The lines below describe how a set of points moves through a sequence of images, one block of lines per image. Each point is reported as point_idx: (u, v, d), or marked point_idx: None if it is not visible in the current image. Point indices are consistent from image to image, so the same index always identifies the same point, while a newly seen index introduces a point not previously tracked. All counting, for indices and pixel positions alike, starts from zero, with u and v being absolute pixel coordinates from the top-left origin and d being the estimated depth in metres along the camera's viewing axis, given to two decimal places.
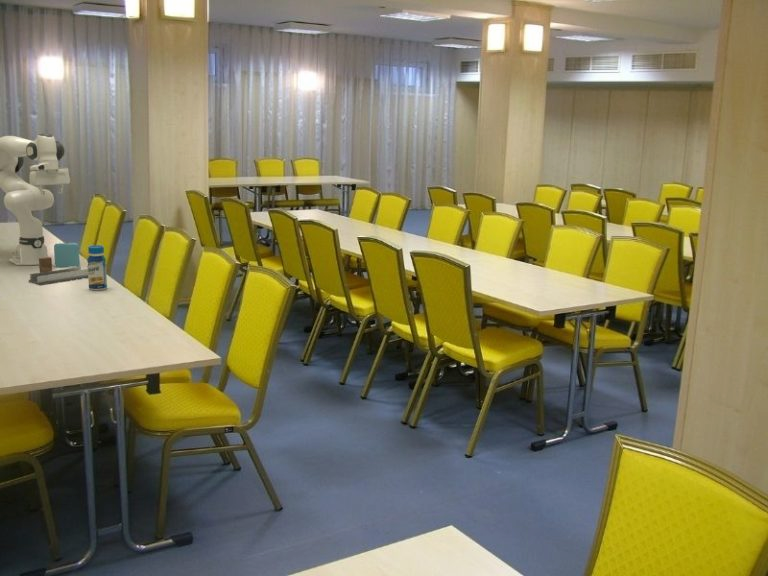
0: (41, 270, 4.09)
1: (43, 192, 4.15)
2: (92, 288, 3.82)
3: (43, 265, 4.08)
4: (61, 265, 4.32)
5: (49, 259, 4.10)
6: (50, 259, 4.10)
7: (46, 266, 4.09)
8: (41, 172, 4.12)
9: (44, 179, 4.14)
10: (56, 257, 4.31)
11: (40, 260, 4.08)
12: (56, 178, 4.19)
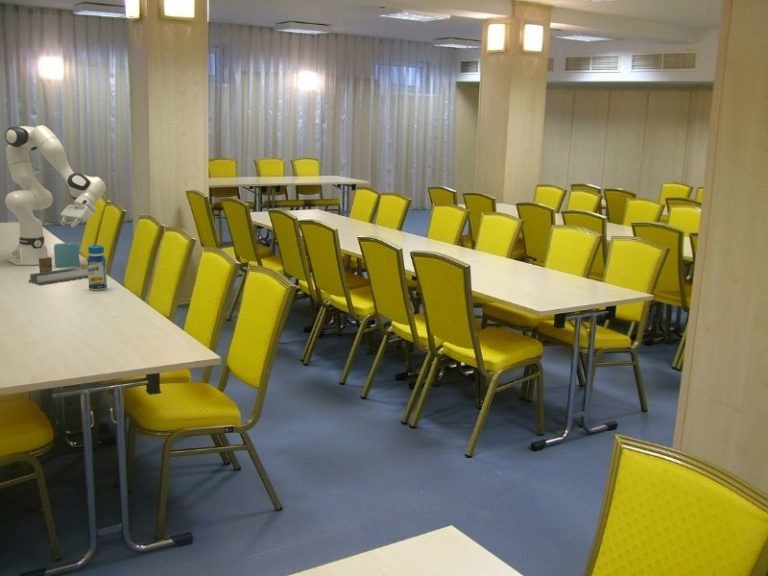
0: (41, 270, 4.09)
1: None
2: (92, 288, 3.82)
3: (43, 265, 4.08)
4: (61, 265, 4.32)
5: (49, 259, 4.10)
6: (50, 259, 4.10)
7: (46, 266, 4.09)
8: None
9: None
10: (56, 257, 4.31)
11: (40, 260, 4.08)
12: None
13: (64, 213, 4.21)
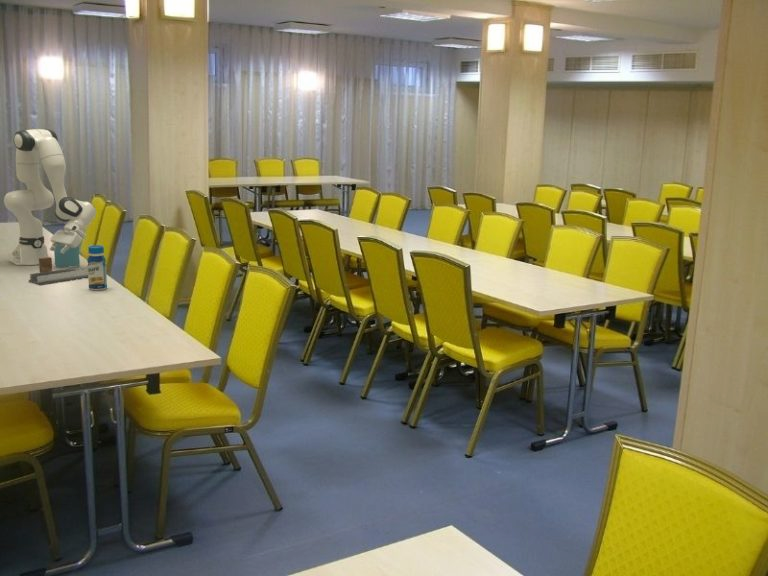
0: (41, 270, 4.09)
1: None
2: (92, 288, 3.82)
3: (43, 265, 4.08)
4: (61, 265, 4.32)
5: (49, 259, 4.10)
6: (50, 259, 4.10)
7: (46, 266, 4.09)
8: None
9: None
10: (56, 257, 4.31)
11: (40, 260, 4.08)
12: None
13: (54, 238, 4.18)
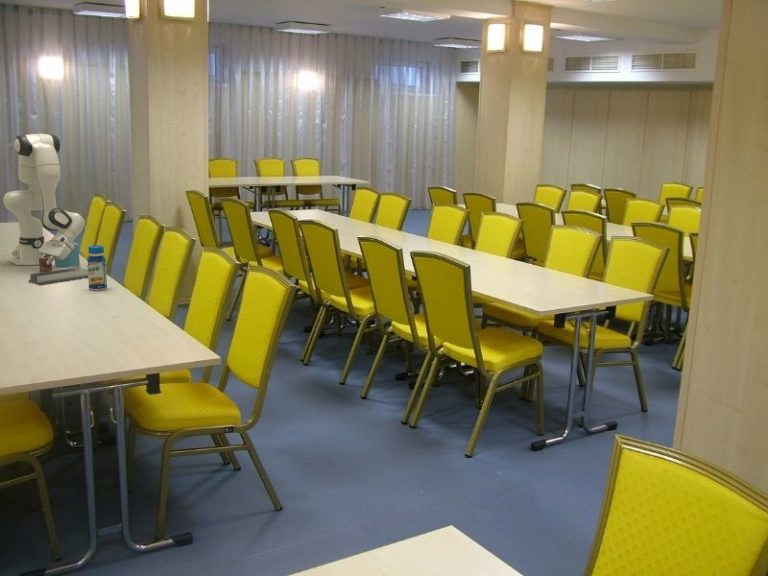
0: (41, 270, 4.09)
1: None
2: (92, 288, 3.82)
3: (43, 265, 4.08)
4: (61, 265, 4.32)
5: None
6: None
7: (46, 266, 4.09)
8: None
9: None
10: None
11: (40, 260, 4.08)
12: None
13: (42, 250, 4.15)
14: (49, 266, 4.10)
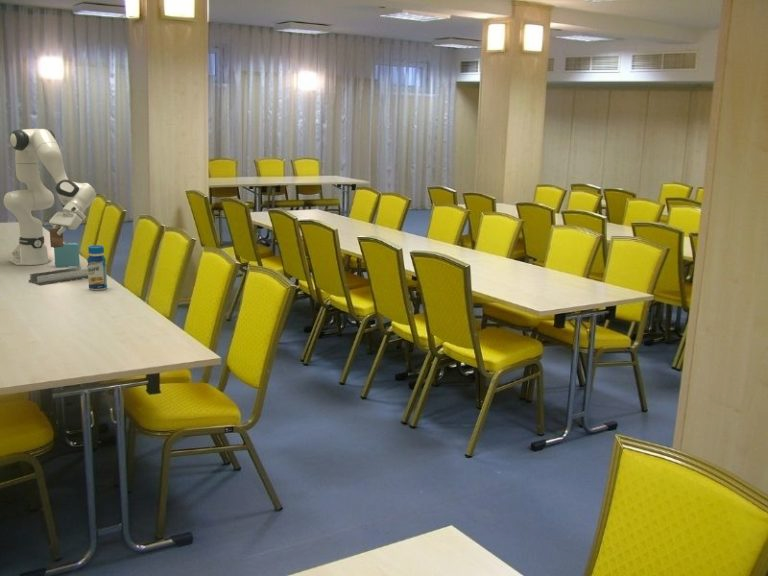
0: (52, 241, 3.98)
1: None
2: (92, 288, 3.82)
3: (54, 235, 3.97)
4: (61, 265, 4.32)
5: None
6: None
7: (57, 236, 3.98)
8: None
9: None
10: (56, 257, 4.31)
11: (51, 230, 3.97)
12: None
13: (52, 220, 4.04)
14: (60, 237, 3.99)
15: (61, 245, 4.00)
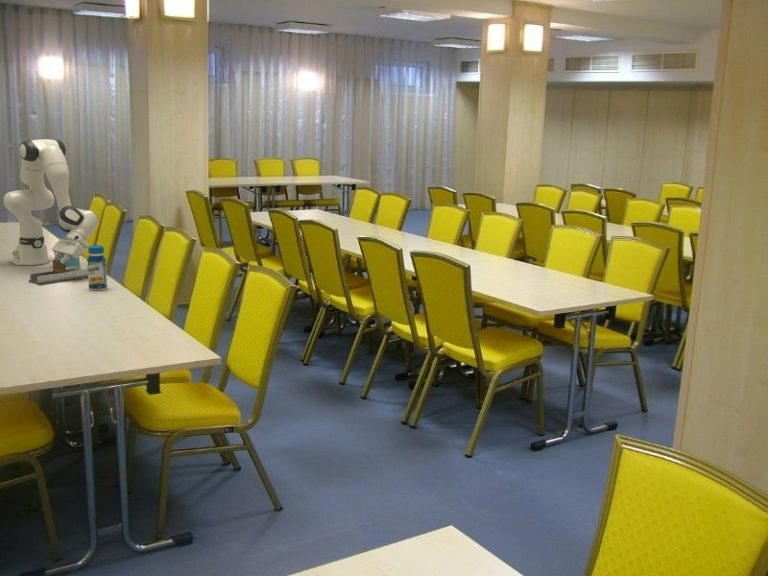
0: (55, 272, 4.00)
1: None
2: (92, 288, 3.82)
3: (56, 267, 4.00)
4: None
5: None
6: None
7: (60, 267, 4.01)
8: None
9: None
10: None
11: (54, 262, 4.00)
12: None
13: (55, 248, 4.06)
14: (63, 268, 4.02)
15: None
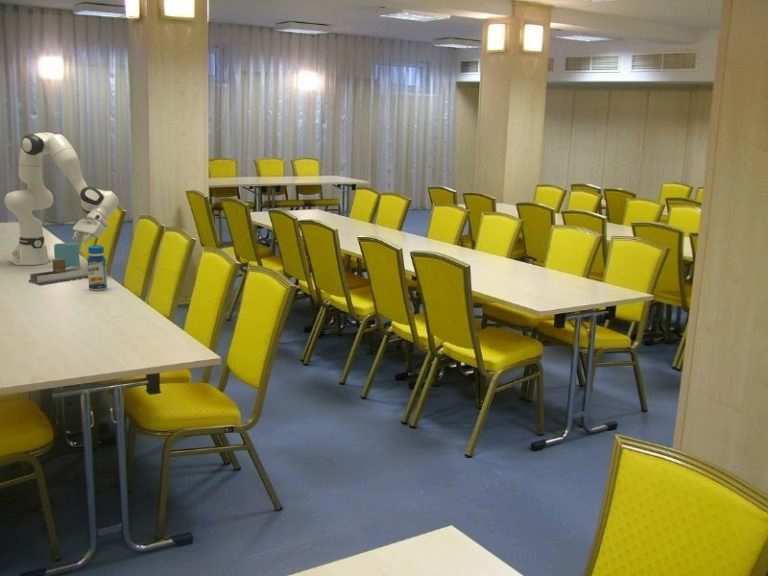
0: (55, 272, 4.00)
1: None
2: (92, 288, 3.82)
3: (56, 267, 4.00)
4: None
5: (63, 260, 4.02)
6: (64, 260, 4.02)
7: (60, 267, 4.01)
8: None
9: None
10: (56, 257, 4.31)
11: (54, 262, 4.00)
12: None
13: (76, 227, 4.13)
14: (63, 268, 4.02)
15: None
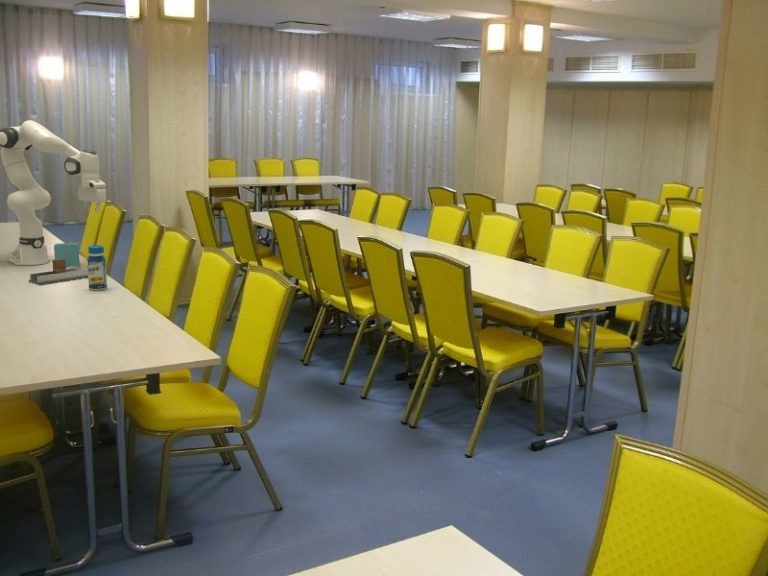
0: (55, 272, 4.00)
1: None
2: (92, 288, 3.82)
3: (56, 267, 4.00)
4: None
5: (63, 260, 4.02)
6: (64, 260, 4.02)
7: (60, 267, 4.01)
8: None
9: None
10: (56, 257, 4.31)
11: (54, 262, 4.00)
12: None
13: (81, 197, 4.21)
14: (63, 268, 4.02)
15: None
